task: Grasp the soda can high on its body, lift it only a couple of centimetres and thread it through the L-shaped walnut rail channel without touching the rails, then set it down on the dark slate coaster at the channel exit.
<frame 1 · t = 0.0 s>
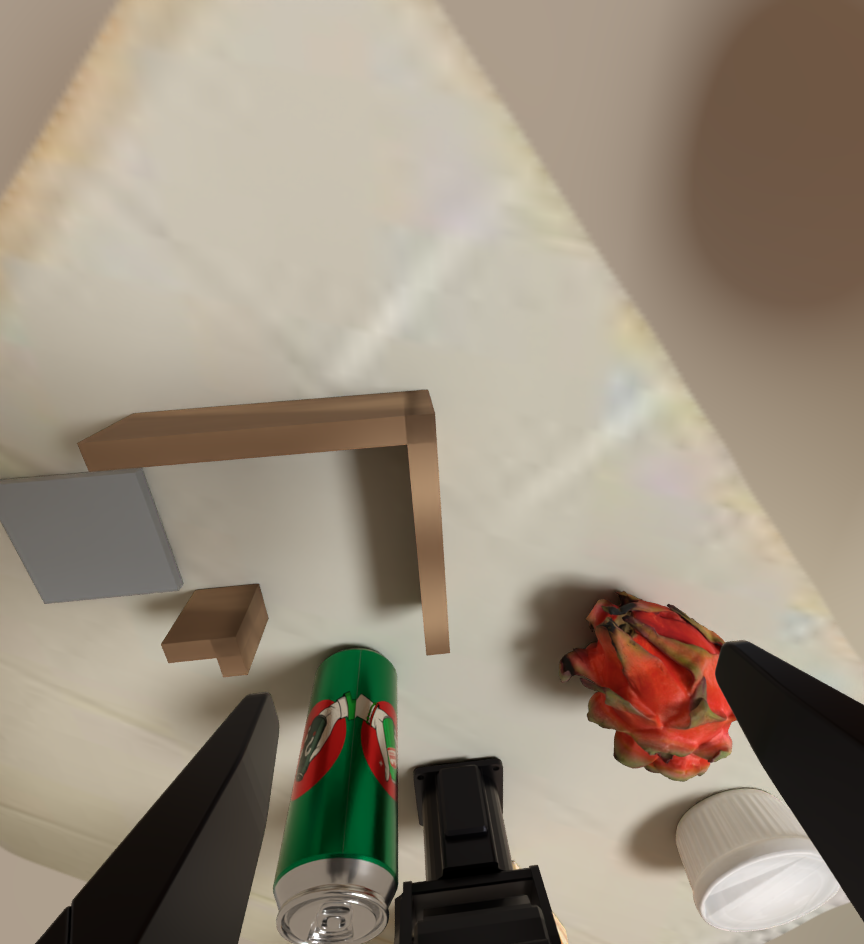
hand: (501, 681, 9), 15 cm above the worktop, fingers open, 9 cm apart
ramekin: (723, 816, 39), on the worktop
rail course: (326, 505, 23), on the worktop
slate coaster: (94, 535, 23), on the worktop
soda can: (357, 669, 28), on the worktop
dragon fruit: (618, 629, 29), on the worktop
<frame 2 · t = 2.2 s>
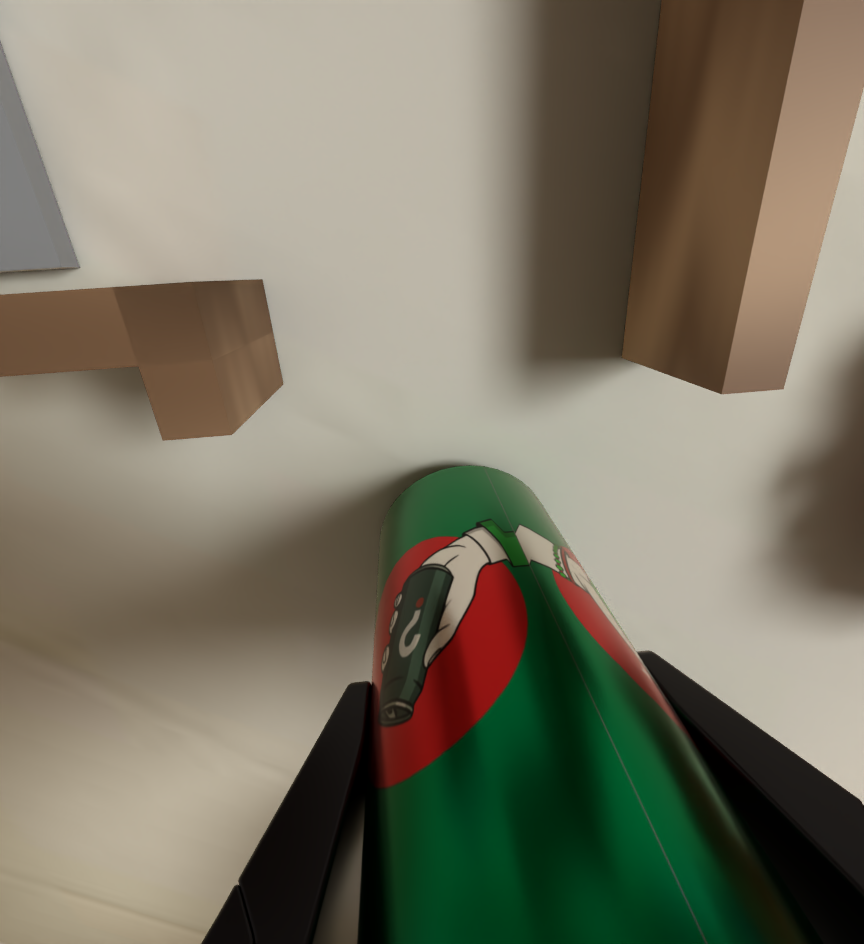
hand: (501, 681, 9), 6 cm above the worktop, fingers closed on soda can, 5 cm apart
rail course: (441, 18, 9), on the worktop
soda can: (461, 529, 14), on the worktop, touching gripper
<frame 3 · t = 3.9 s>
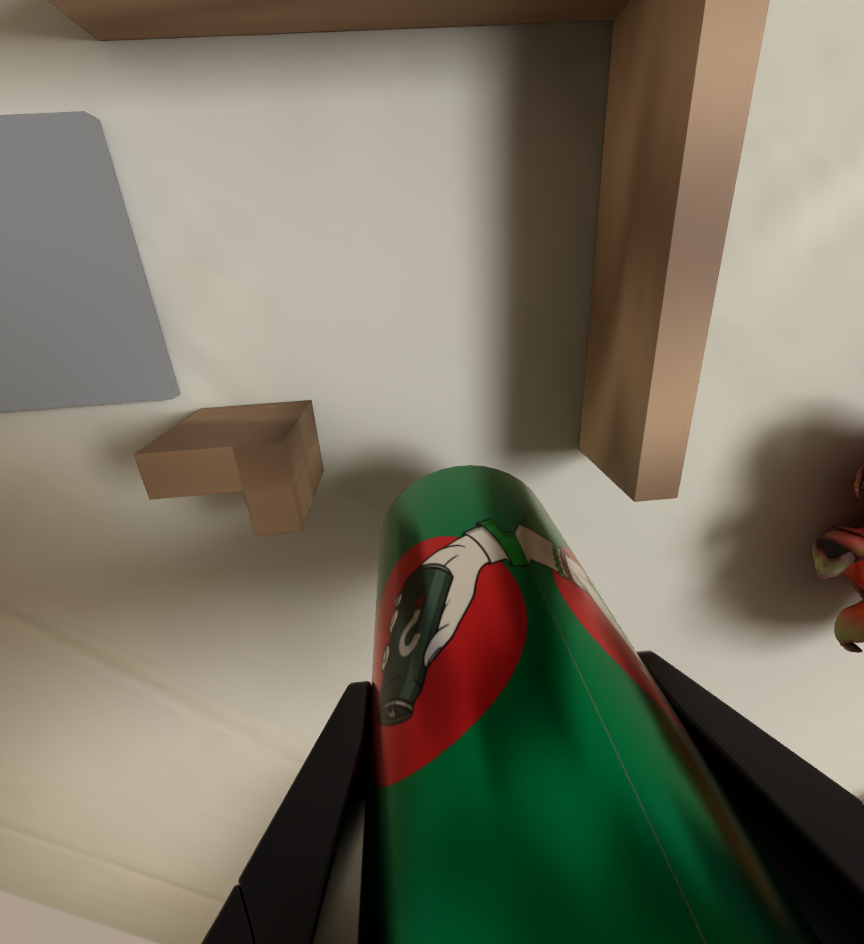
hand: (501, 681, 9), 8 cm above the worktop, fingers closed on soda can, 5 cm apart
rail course: (443, 234, 13), on the worktop
slate coaster: (15, 280, 12), on the worktop
soda can: (461, 529, 14), point 2 cm above the worktop, touching gripper
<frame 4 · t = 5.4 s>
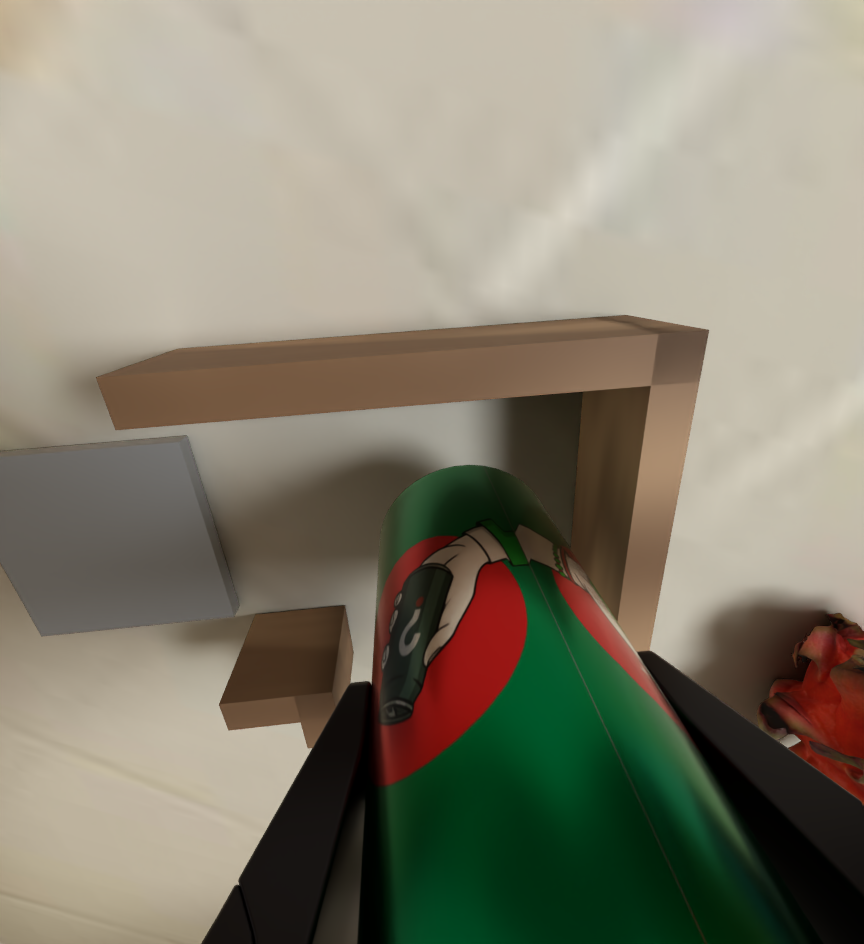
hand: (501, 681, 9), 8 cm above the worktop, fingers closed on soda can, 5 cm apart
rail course: (452, 494, 16), on the worktop
slate coaster: (114, 537, 16), on the worktop
soda can: (461, 528, 14), point 2 cm above the worktop, touching gripper
dragon fruit: (811, 661, 21), on the worktop
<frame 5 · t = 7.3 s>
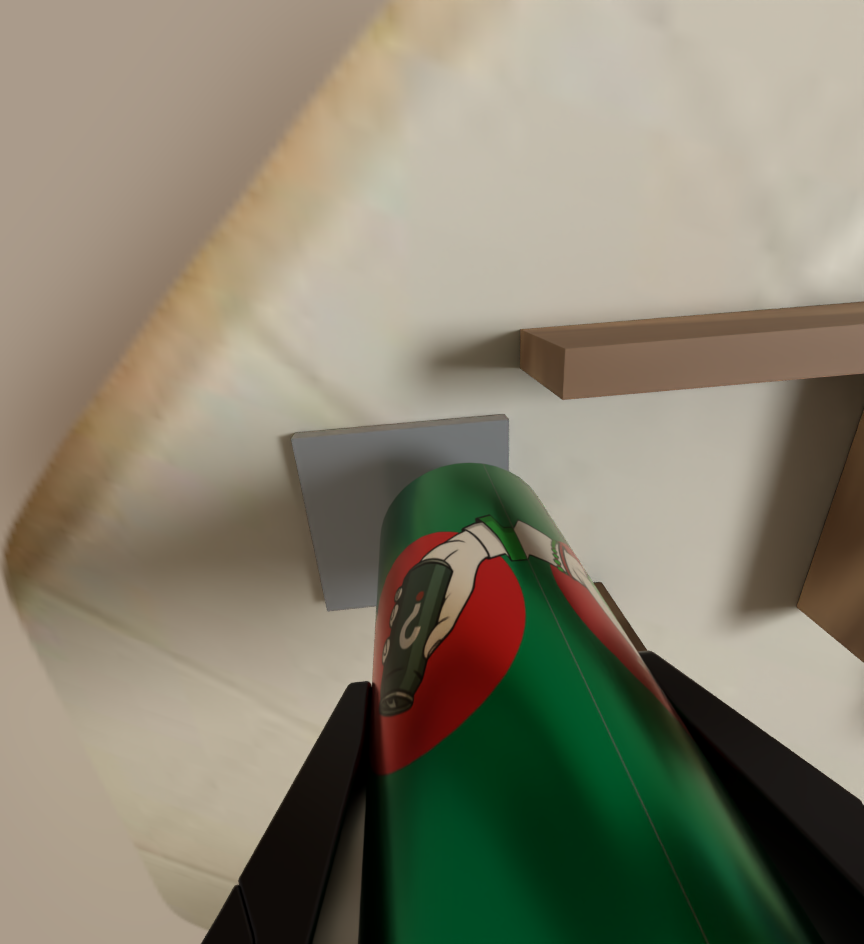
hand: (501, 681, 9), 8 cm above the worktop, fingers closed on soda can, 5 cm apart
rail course: (730, 471, 17), on the worktop
slate coaster: (410, 514, 16), on the worktop
soda can: (460, 525, 14), point 2 cm above the worktop, touching gripper
when the fingers open (7 cm above the worktop, at t = 8.9 s): soda can stays where it is, resting on slate coaster.
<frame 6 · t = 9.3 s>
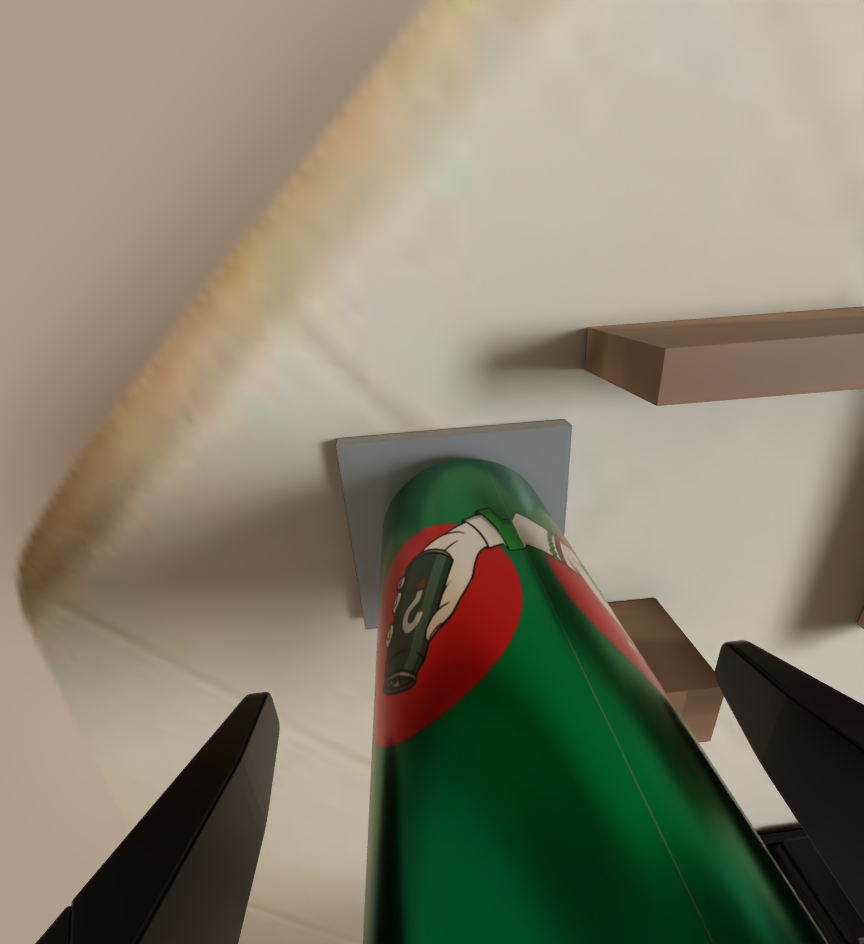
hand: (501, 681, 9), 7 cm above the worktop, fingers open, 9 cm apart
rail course: (800, 482, 15), on the worktop
slate coaster: (457, 526, 15), on the worktop
soda can: (460, 520, 14), resting on slate coaster
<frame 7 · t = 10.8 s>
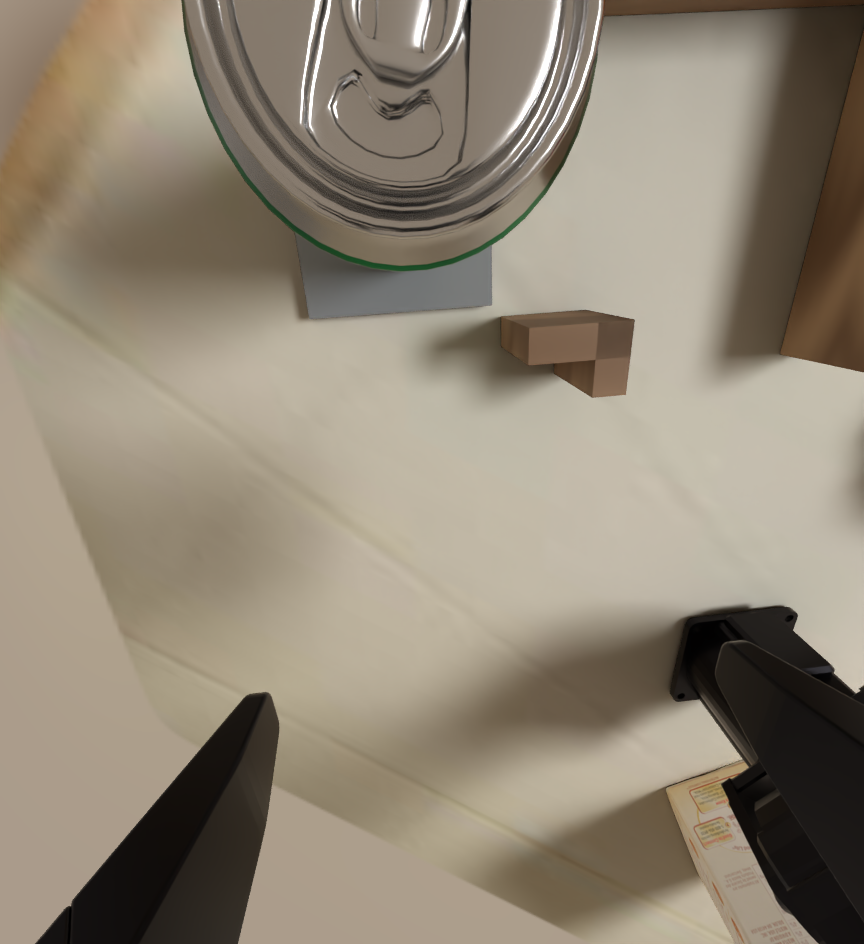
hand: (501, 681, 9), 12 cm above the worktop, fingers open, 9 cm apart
coffeecake box: (721, 817, 36), on the worktop
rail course: (713, 172, 16), on the worktop
slate coaster: (392, 208, 16), on the worktop
soda can: (393, 191, 16), resting on slate coaster
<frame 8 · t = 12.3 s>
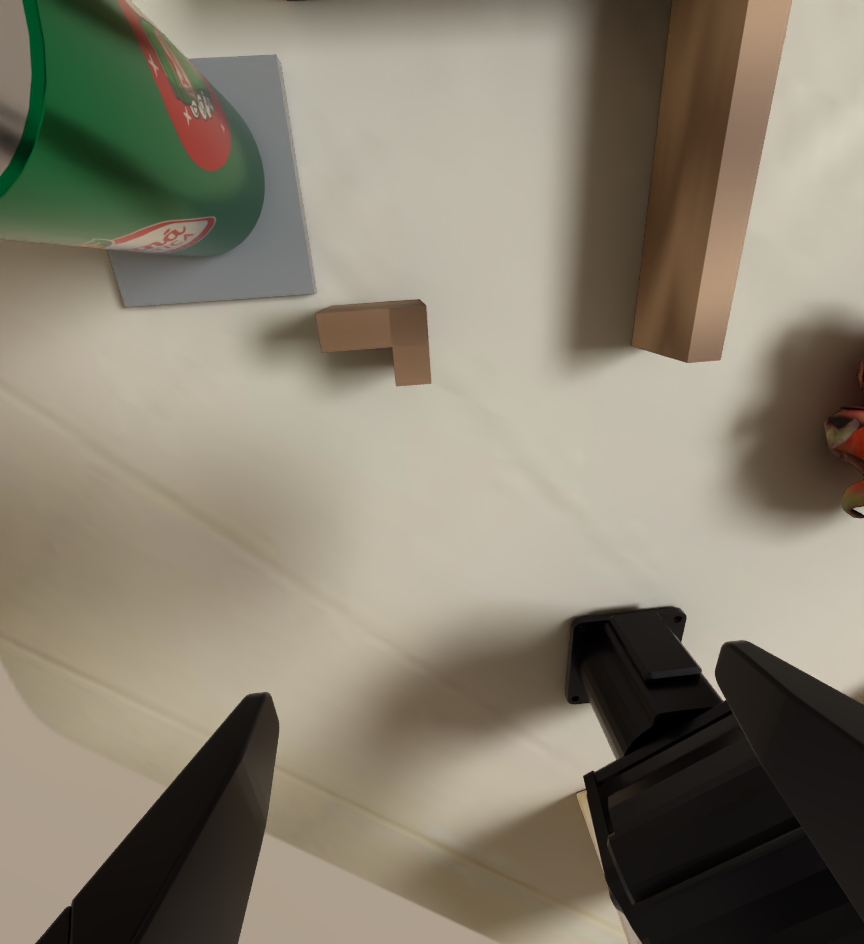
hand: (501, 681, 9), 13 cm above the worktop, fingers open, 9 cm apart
coffeecake box: (641, 825, 35), on the worktop
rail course: (533, 157, 16), on the worktop
slate coaster: (201, 194, 16), on the worktop
soda can: (195, 176, 15), resting on slate coaster
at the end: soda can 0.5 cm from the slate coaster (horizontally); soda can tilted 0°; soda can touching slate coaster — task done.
